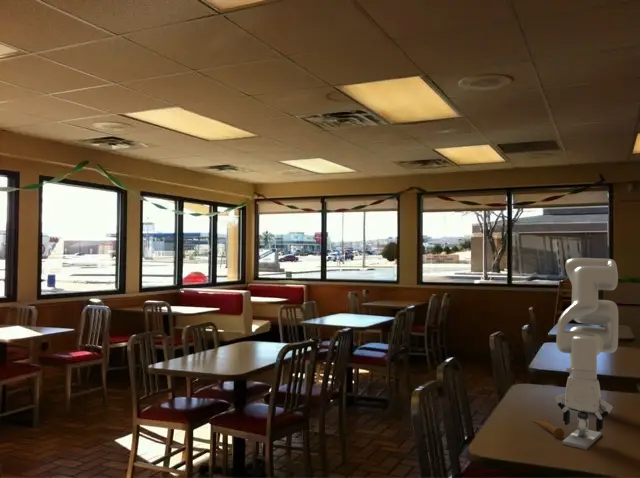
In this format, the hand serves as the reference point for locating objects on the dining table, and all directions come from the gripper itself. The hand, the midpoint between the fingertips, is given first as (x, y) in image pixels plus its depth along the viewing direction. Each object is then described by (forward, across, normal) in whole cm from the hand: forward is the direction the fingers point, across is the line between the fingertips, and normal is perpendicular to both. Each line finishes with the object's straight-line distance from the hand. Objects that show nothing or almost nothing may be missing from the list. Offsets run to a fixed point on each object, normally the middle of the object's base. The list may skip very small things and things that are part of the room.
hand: (582, 427), depth 185 cm
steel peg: (+3, 0, 0) cm, 3 cm away
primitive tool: (+5, -12, +4) cm, 14 cm away
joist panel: (+4, 0, 0) cm, 4 cm away
